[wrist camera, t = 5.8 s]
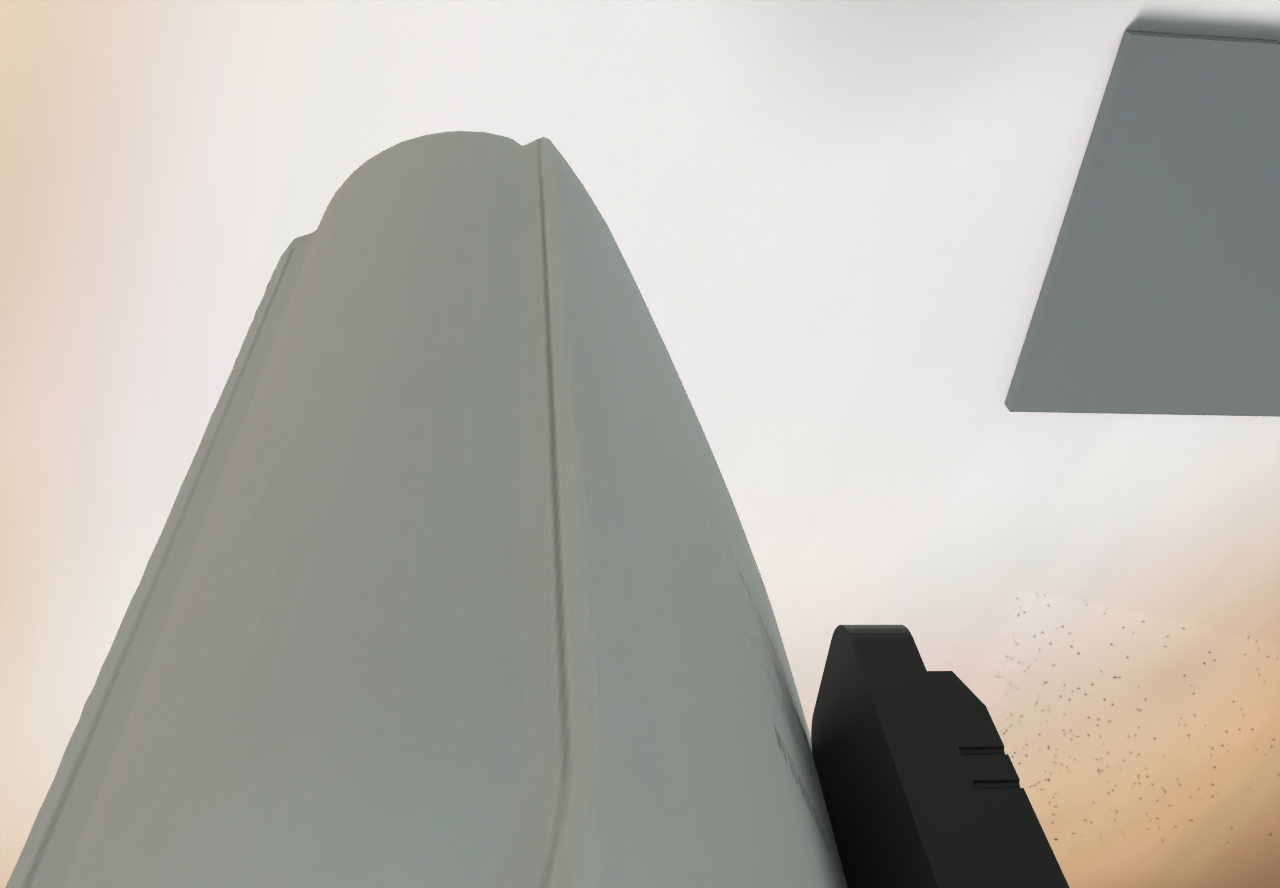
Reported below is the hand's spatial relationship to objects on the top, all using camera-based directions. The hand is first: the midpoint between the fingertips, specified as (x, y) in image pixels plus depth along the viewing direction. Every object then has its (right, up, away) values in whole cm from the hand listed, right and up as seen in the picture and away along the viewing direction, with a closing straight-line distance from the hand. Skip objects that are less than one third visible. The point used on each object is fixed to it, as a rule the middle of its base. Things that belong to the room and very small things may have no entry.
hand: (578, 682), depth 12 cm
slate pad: (+17, +8, +16) cm, 25 cm away
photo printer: (0, +3, +4) cm, 5 cm away
